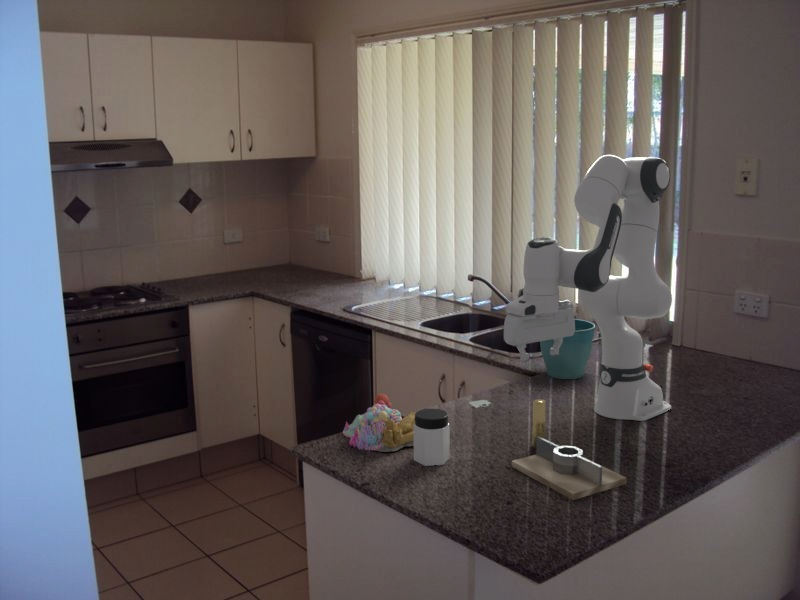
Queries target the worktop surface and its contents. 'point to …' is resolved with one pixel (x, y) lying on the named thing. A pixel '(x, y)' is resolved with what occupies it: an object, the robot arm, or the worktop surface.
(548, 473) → the birch board
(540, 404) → the pin
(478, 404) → the mounting bracket
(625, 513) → the worktop surface
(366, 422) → the candy landscape model
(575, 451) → the grey metal ringed bar
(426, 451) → the jar
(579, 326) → the flower pot
